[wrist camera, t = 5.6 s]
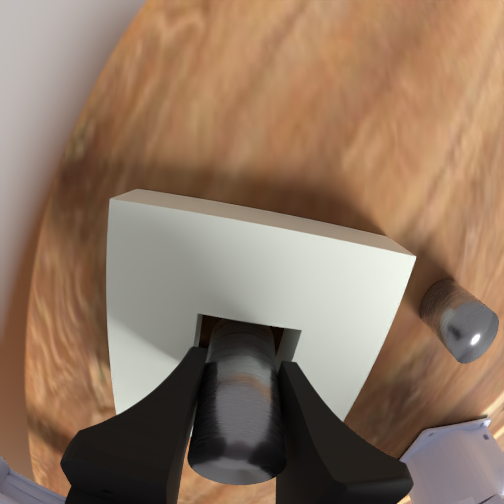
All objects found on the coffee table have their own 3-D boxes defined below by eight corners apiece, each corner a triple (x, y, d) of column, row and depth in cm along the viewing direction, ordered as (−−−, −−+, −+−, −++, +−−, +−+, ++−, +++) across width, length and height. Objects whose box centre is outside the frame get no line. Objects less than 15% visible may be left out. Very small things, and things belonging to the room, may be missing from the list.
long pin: (279, 318, 14) (297, 441, 7) (267, 368, 15) (275, 487, 8) (213, 309, 14) (188, 430, 7) (208, 360, 15) (187, 478, 8)
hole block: (387, 236, 14) (416, 256, 11) (318, 414, 18) (326, 448, 15) (137, 188, 13) (109, 198, 10) (131, 385, 17) (117, 418, 14)
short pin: (466, 282, 15) (506, 313, 11) (448, 326, 16) (481, 362, 12) (431, 275, 15) (471, 308, 11) (412, 323, 16) (444, 363, 12)
